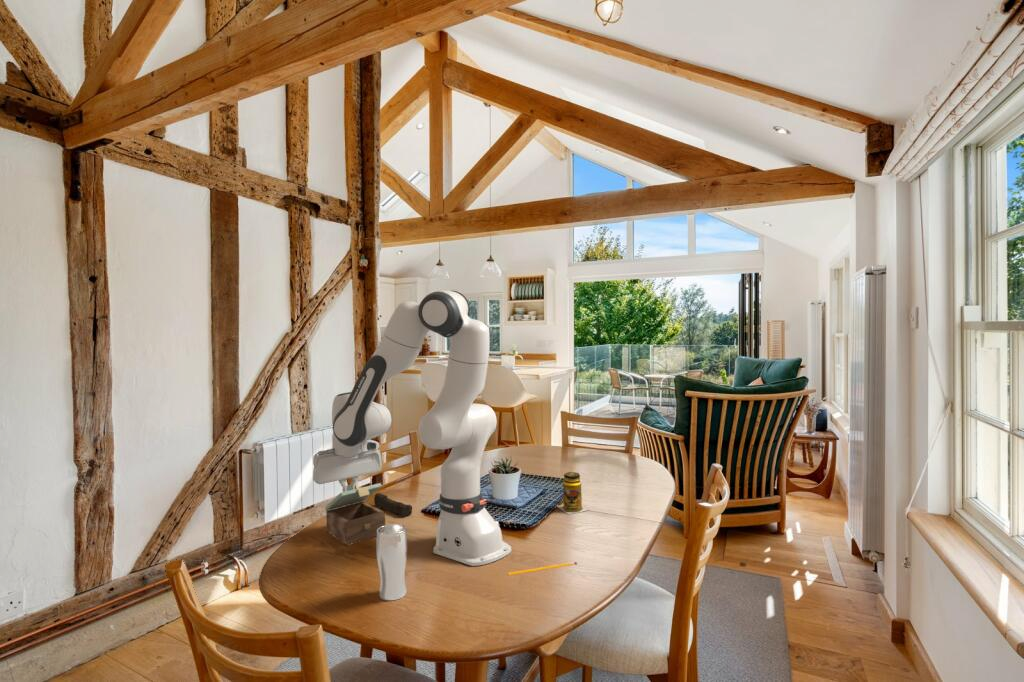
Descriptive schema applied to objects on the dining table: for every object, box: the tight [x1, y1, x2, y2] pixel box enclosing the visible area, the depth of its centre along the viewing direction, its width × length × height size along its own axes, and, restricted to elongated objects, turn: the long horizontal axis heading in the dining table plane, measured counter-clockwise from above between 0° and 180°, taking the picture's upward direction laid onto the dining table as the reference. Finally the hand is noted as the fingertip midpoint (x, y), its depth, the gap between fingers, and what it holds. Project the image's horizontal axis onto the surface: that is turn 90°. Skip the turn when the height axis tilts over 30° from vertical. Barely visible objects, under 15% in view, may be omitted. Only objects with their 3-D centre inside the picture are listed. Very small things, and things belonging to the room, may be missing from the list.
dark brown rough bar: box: [373, 492, 413, 518], centre depth 171 cm, size 19×4×5 cm, turn 46°
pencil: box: [507, 561, 578, 576], centre depth 126 cm, size 1×18×1 cm, turn 107°
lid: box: [324, 482, 382, 512], centre depth 151 cm, size 15×12×3 cm
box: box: [325, 500, 386, 546], centre depth 151 cm, size 15×12×6 cm
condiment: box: [556, 471, 588, 515], centre depth 168 cm, size 7×8×12 cm
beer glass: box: [375, 523, 408, 602], centre depth 115 cm, size 7×7×15 cm
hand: (348, 492), depth 149 cm, fingers closed
